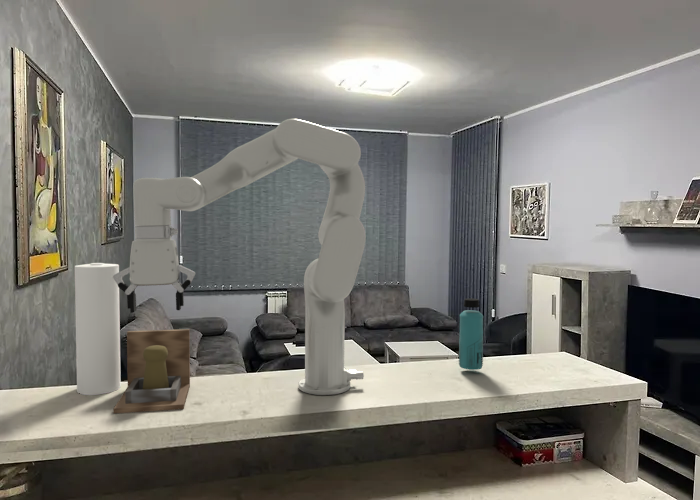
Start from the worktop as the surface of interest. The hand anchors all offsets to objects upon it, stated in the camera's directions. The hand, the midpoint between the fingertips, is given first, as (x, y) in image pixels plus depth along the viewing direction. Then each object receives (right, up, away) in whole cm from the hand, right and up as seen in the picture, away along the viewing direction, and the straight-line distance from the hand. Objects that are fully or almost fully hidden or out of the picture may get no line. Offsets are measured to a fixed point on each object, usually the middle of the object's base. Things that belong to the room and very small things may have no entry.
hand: (156, 310), depth 118 cm
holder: (-1, -20, +1) cm, 20 cm away
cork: (0, -19, +1) cm, 19 cm away
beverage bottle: (+76, -20, +25) cm, 82 cm away
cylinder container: (-17, -20, +8) cm, 27 cm away
